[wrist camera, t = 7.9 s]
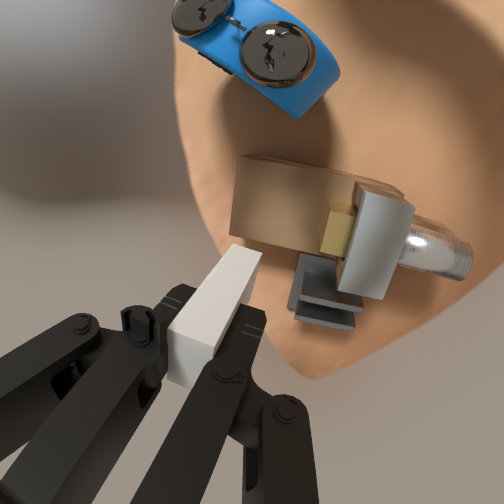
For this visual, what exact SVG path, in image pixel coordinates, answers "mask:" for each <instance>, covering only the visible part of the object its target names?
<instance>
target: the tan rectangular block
mask: <svg viewBox="0 0 504 504" xmlns="http://www.w3.org/2000/svg"><path fill="white" fill-rule="evenodd" d="M358 210H359V209H358V207H357V206H353V205H349V204H345V203H341V202H337V201H333V200H328V204H327V209H326V213H325V217H324V222H323V226H322V230H321V234H320V252H323V253H327V254H331V255H335V256H340V257H344V258H345V257H346V253H347V250H348V246H349V243H350V240H351V236H352V232H353V229H354V225H355V221H356V218H357V214H358Z"/></svg>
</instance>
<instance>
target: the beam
mask: <svg viewBox="0 0 504 504" xmlns="http://www.w3.org/2000/svg"><path fill="white" fill-rule="evenodd" d="M403 197H404V194H403V193H402V192H400V191H399V190H397V189H396V188H395V187H393V186H392V185H389V184H386V183H382V182H379V181H375V180H372V179H368V178H364V177H361V176H357V175H353V174H349V173H345V172H341V171H337V170H332V169H328V168H324V167H319V166H315V165H310V164H305V163H300V162H295V161H290V160H284V159H279V158H273V157H267V156H261V155H255V154H249V155H245V156H241V157H238V163H237V171H236V179H235V187H234V195H233V204H232V212H231V221H230V230H229V235H232V236H236V237H241V238H245V239H250V240H254V241H259V242H263V243H268V244H272V245H277V246H281V247H285V248H290V249H294V250H299V251H303V252H307V253H312V254H316V255H320V256H325V257H329V258H333V259H335V263H336V275H337V289H338V291H342V292H346V293H351V294H355V295H360V296H365V297H369V298H374V299H379V300H383V297H384V295H385V293H386V290H387V288H388V285H389V283H390V280H391V278H392V275H393V273H394V270H395V268H396V265H397V262H398V260H399V257H400V254H401V251H402V249H403V246H404V243H405V240H406V237H407V234H408V231H409V227H410V224H414V225H417V226H421V227H424V228H427V229H430V230H433V231H436V232H439V233H442V234H445V235H448V236H451V237H454V238H457V239H460V238H458V237H457V236H456V235H455V234H454V233H453V232H452V231H450V230H449V229H448V228H447V227H446V226H445V225H443V224H441V223H438V222H436V221H432V220H429V219H426V218H423V217H420V216H417V215H414V211H415V207H414V206H412V205H411V204H410V203H409V202H407V201H406V200H405V199H404V198H403ZM328 200H333V201H337V202H341V203H345V204H349V205H353V206H357V207H358V209H359V210H358V214H357V218H356V221H355V225H354V229H353V232H352V236H351V240H350V243H349V246H348V250H347V253H346V257H345V258H344V257H340V256H335V255H331V254H327V253H323V252H320V234H321V230H322V226H323V222H324V217H325V213H326V209H327V204H328Z"/></svg>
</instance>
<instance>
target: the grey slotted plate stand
mask: <svg viewBox="0 0 504 504" xmlns="http://www.w3.org/2000/svg"><path fill="white" fill-rule="evenodd" d="M362 297H363V296H360V295H355V294H351V293H346V292H342V291H338V289H337V275H336V263H335V259H333V258H329V257H325V256H320V255H316V254H312V253H307V252H303V251H300V255H299V260H298V264H297V268H296V272H295V276H294V280H293V284H292V288H291V292H290V296H289V300H288V304H287V308H289V309H293V310H295V315H294V320H298V321H303V322H307V323H312V324H316V325H321V326H326V327H330V328H335V329H340V330H345V331H350V332H354V330H355V328H356V327H355V318H354V317H355V314H356V312H357V313H362V312H363V309H364V305H363V300H362Z"/></svg>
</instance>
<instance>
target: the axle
mask: <svg viewBox="0 0 504 504" xmlns="http://www.w3.org/2000/svg"><path fill="white" fill-rule="evenodd" d="M472 262H473V250H472V247H471V245H470V244H469V243H468V242H465V241H463V240H460V239H457V238H454V237H451V236H448V235H445V234H442V233H439V232H436V231H433V230H430V229H427V228H424V227H421V226H417V225H414V224H410V227H409V231H408V234H407V237H406V240H405V243H404V246H403V249H402V251H401V254H400V257H399V260H398V262H397V265H398V266H402V267H406V268H410V269H414V270H418V271H421V272H425V273H429V274H433V275H437V276H440V277H444V278H448V279H452V280H455V281H462V280H464V279H465V278H466V277H467V275H468V274H469V272H470V269H471V266H472Z"/></svg>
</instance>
